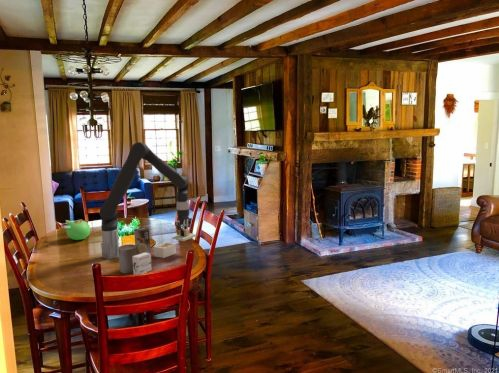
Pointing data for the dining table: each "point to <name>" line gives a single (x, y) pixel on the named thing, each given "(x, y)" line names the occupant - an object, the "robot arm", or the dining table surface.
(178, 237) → the lid
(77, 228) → the green round pot
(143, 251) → the coffee box
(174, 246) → the cream box
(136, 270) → the ink box
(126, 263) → the pillar candle
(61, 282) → the dining table surface
